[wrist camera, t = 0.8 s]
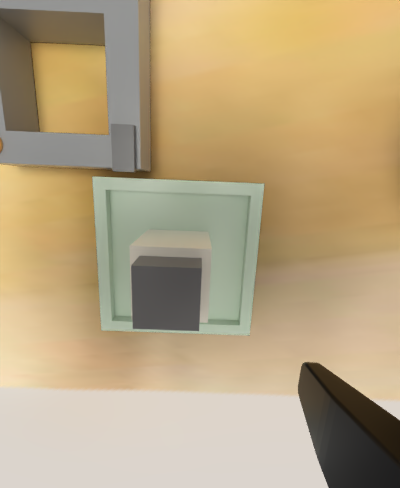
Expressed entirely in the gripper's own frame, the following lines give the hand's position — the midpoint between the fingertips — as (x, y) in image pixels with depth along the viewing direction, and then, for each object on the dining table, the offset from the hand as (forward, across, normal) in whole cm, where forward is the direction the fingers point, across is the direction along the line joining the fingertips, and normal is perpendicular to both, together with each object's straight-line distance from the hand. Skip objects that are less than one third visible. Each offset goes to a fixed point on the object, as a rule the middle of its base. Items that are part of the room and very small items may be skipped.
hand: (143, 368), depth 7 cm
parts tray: (+12, 0, 0) cm, 12 cm away
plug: (+11, 0, 0) cm, 11 cm away
